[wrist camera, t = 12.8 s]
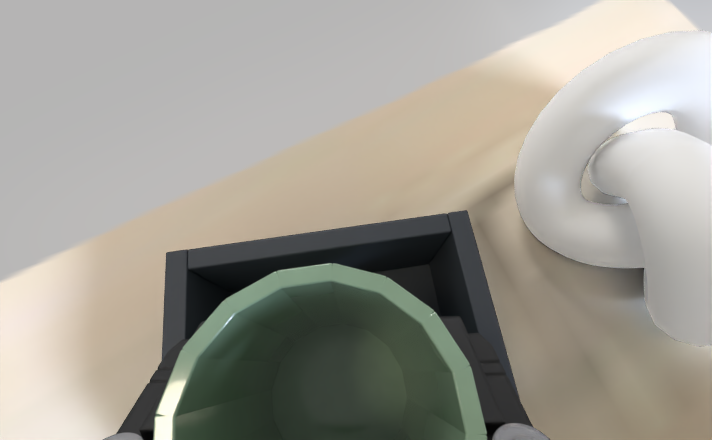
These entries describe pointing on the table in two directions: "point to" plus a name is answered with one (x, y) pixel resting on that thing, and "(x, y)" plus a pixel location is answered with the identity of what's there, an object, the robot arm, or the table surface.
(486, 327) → the tub
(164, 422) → the cup
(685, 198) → the white knot sculpture
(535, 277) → the table surface
